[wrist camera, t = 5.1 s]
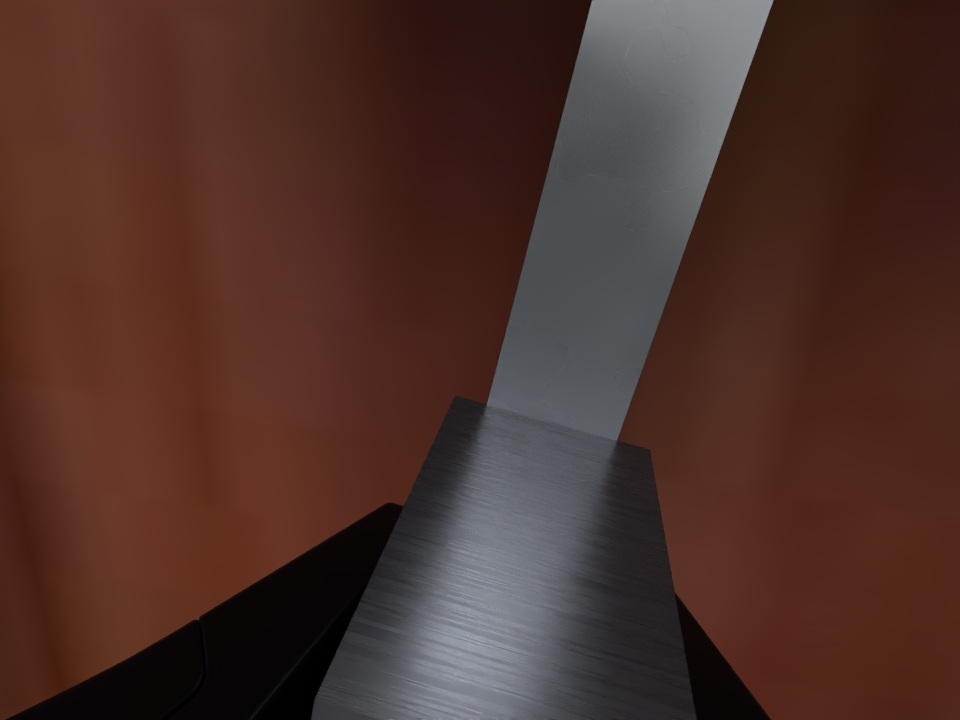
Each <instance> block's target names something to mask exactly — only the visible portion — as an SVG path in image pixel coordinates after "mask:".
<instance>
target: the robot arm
mask: <svg viewBox="0 0 960 720" xmlns="http://www.w3.org/2000/svg"><path fill="white" fill-rule="evenodd" d="M403 507H404V506H402V505H398V504H395V503H386V504H384V505H383V506H381V507H379V508H378V509H376V510H374V511H373V512H371V513H369V514H368V515H366V516H365V517H363V518H361V519H360V520H358V521H356V522H355V523H353V524H351V525H350V526H348V527H346V528H345V529H343V530H341V531H340V532H338V533H337V534H335V535H333V536H332V537H330V538H328V539H327V540H325V541H323V542H322V543H320V544H318V545H317V546H315V547H313V548H312V549H310V550H309V551H307V552H305V553H304V554H302V555H300V556H299V557H297V558H295V559H294V560H292V561H290V562H289V563H287V564H285V565H284V566H282V567H281V568H279V569H277V570H276V571H274V572H272V573H271V574H269V575H267V576H266V577H264V578H262V579H261V580H259V581H257V582H256V583H254V584H253V585H251V586H249V587H248V588H246V589H244V590H243V591H241V592H239V593H238V594H236V595H234V596H233V597H231V598H230V599H228V600H226V601H225V602H223V603H221V604H220V605H218V606H216V607H215V608H213V609H211V610H210V611H208V612H206V613H205V614H203V615H202V616H200V618H199V621H198V620H193V621H191V622H190V623H188V624H186V625H185V626H183V627H181V628H180V629H178V630H176V631H175V632H173V633H171V634H170V635H168V636H166V637H165V638H163V639H161V640H159V641H158V642H156V643H154V644H152V645H151V646H149V647H147V648H145V649H144V650H142V651H140V652H138V653H137V654H135V655H133V656H131V657H130V658H128V659H126V660H124V661H122V662H120V663H118V664H117V665H115V666H113V667H111V668H109V669H107V670H105V671H103V672H101V673H99V674H97V675H95V676H93V677H91V678H89V679H87V680H85V681H83V682H81V683H80V684H78V685H76V686H74V687H72V688H70V689H68V690H65V691H63V692H61V693H59V694H57V695H55V696H53V697H51V698H49V699H47V700H45V701H43V702H41V703H39V704H37V705H35V706H33V707H31V708H29V709H26V710H24V711H22V712H20V713H18V714H16V715H14V716H12V717H10V718H8V719H6V720H311V717H312V712H313V706H314V701H315V697H316V695H317V693H318V691H319V689H320V687H321V685H322V682H323V680H324V678H325V676H326V674H327V672H328V669H329V667H330V665H331V663H332V661H333V659H334V656H335V654H336V652H337V650H338V648H339V646H340V643H341V641H342V639H343V637H344V635H345V633H346V630H347V628H348V626H349V624H350V622H351V620H352V617H353V615H354V613H355V611H356V609H357V607H358V605H359V602H360V600H361V598H362V596H363V594H364V592H365V589H366V587H367V585H368V583H369V581H370V579H371V576H372V574H373V572H374V570H375V568H376V566H377V563H378V561H379V559H380V557H381V555H382V553H383V550H384V548H385V546H386V544H387V542H388V540H389V538H390V535H391V533H392V531H393V529H394V527H395V525H396V522H397V520H398V518H399V516H400V514H401V512H402V509H403ZM675 598H676V604H677V609H678V615H679V621H680V627H681V633H682V638H683V644H684V650H685V656H686V661H687V667H688V673H689V679H690V684H691V690H692V696H693V702H694V707H695V713H696V719H697V720H771V719H770V718H769V716H768V715H767V714H766V712H765V711H764V710H763V708H762V707H761V706H760V704H759V703H758V702H757V700H756V699H755V698H754V696H753V695H752V694H751V692H750V691H749V690H748V688H747V687H746V686H745V685H744V683H743V682H742V681H741V679H740V678H739V677H738V675H737V674H736V673H735V671H734V670H733V669H732V667H731V666H730V665H729V663H728V662H727V661H726V659H725V658H724V657H723V655H722V654H721V653H720V651H719V650H718V649H717V647H716V646H715V645H714V643H713V642H712V641H711V639H710V638H709V637H708V635H707V634H706V633H705V631H704V630H703V629H702V627H701V626H700V625H699V624H698V622H697V621H696V620H695V618H694V617H693V616H692V614H691V613H690V612H689V610H688V609H687V608H686V606H685V605H684V604H683V602H682V601H681V600H680V598H679V597H678V596H677V594H676V593H675Z"/></svg>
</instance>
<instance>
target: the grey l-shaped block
mask: <svg viewBox="0 0 960 720" xmlns="http://www.w3.org/2000/svg"><path fill="white" fill-rule="evenodd" d="M772 3H773V0H592V3H591V7H590V11H589V14H588V18H587V22H586V26H585V30H584V34H583V37H582V41H581V45H580V49H579V53H578V57H577V61H576V64H575V68H574V72H573V76H572V80H571V84H570V87H569V91H568V95H567V99H566V103H565V107H564V111H563V114H562V118H561V122H560V126H559V130H558V134H557V137H556V141H555V145H554V149H553V153H552V157H551V161H550V164H549V168H548V172H547V176H546V180H545V184H544V187H543V191H542V195H541V199H540V203H539V207H538V211H537V214H536V218H535V222H534V226H533V230H532V234H531V237H530V241H529V245H528V249H527V253H526V257H525V261H524V264H523V268H522V272H521V276H520V280H519V284H518V287H517V291H516V295H515V299H514V303H513V307H512V311H511V314H510V318H509V322H508V326H507V330H506V334H505V338H504V341H503V345H502V349H501V353H500V357H499V361H498V364H497V368H496V372H495V376H494V380H493V384H492V388H491V391H490V395H489V399H488V403H487V405H486V404H483V403H479V402H476V401H472V400H468V399H465V398H461V397H458V396H455V397H454V399H453V401H452V403H451V406H450V408H449V410H448V412H447V414H446V416H445V419H444V421H443V423H442V425H441V427H440V429H439V432H438V434H437V436H436V438H435V440H434V442H433V445H432V447H431V449H430V451H429V453H428V455H427V458H426V460H425V462H424V464H423V466H422V468H421V470H420V473H419V475H418V477H417V479H416V481H415V483H414V486H413V488H412V490H411V492H410V494H409V496H408V499H407V501H406V503H405V505H404V507H403V509H402V512H401V514H400V516H399V518H398V520H397V522H396V525H395V527H394V529H393V531H392V533H391V535H390V538H389V540H388V542H387V544H386V546H385V548H384V550H383V553H382V555H381V557H380V559H379V561H378V563H377V566H376V568H375V570H374V572H373V574H372V576H371V579H370V581H369V583H368V585H367V587H366V589H365V592H364V594H363V596H362V598H361V600H360V602H359V605H358V607H357V609H356V611H355V613H354V615H353V617H352V620H351V622H350V624H349V626H348V628H347V630H346V633H345V635H344V637H343V639H342V641H341V643H340V646H339V648H338V650H337V652H336V654H335V656H334V659H333V661H332V663H331V665H330V667H329V669H328V672H327V674H326V676H325V678H324V680H323V682H322V685H321V687H320V689H319V691H318V693H317V695H316V697H315V701H314V706H313V712H312V717H311V720H697V719H696V713H695V707H694V702H693V696H692V690H691V684H690V679H689V673H688V667H687V661H686V656H685V650H684V644H683V638H682V633H681V627H680V621H679V615H678V609H677V604H676V598H675V592H674V586H673V581H672V575H671V569H670V563H669V558H668V552H667V546H666V540H665V535H664V529H663V523H662V517H661V511H660V506H659V500H658V494H657V488H656V483H655V477H654V471H653V465H652V460H651V454H650V450H649V449H645V448H641V447H638V446H634V445H631V444H627V443H623V442H620V441H617V439H618V436H619V433H620V431H621V428H622V425H623V422H624V419H625V416H626V414H627V411H628V408H629V405H630V402H631V400H632V397H633V394H634V391H635V388H636V385H637V383H638V380H639V377H640V374H641V371H642V369H643V366H644V363H645V360H646V357H647V355H648V352H649V349H650V346H651V343H652V340H653V338H654V335H655V332H656V329H657V326H658V324H659V321H660V318H661V315H662V312H663V310H664V307H665V304H666V301H667V298H668V295H669V293H670V290H671V287H672V284H673V281H674V279H675V276H676V273H677V270H678V267H679V265H680V262H681V259H682V256H683V253H684V250H685V248H686V245H687V242H688V239H689V236H690V234H691V231H692V228H693V225H694V222H695V219H696V217H697V214H698V211H699V208H700V205H701V203H702V200H703V197H704V194H705V191H706V189H707V186H708V183H709V180H710V177H711V174H712V172H713V169H714V166H715V163H716V160H717V158H718V155H719V152H720V149H721V146H722V144H723V141H724V138H725V135H726V132H727V129H728V127H729V124H730V121H731V118H732V115H733V113H734V110H735V107H736V104H737V101H738V99H739V96H740V93H741V90H742V87H743V84H744V82H745V79H746V76H747V73H748V70H749V68H750V65H751V62H752V59H753V56H754V54H755V51H756V48H757V45H758V42H759V39H760V37H761V34H762V31H763V28H764V25H765V23H766V20H767V17H768V14H769V11H770V8H771V6H772Z"/></svg>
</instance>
